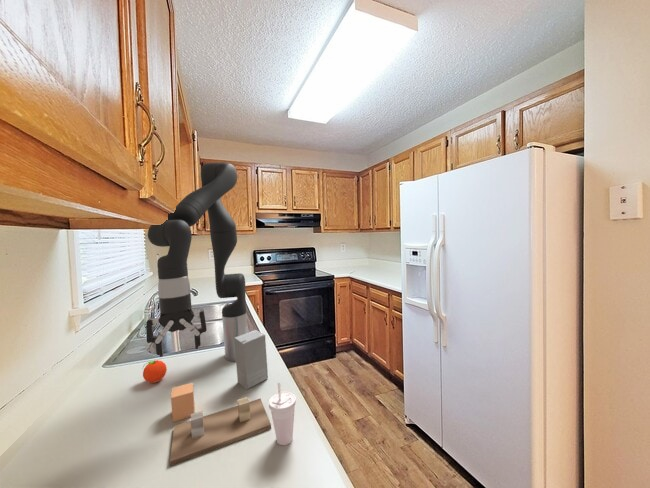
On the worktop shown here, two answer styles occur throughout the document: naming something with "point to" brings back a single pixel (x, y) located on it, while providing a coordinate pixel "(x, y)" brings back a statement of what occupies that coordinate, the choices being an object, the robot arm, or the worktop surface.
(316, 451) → the worktop surface
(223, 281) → the robot arm
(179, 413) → the light orange block
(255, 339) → the skincare box
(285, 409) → the smoothie
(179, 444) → the post board
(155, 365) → the tomato
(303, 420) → the worktop surface
